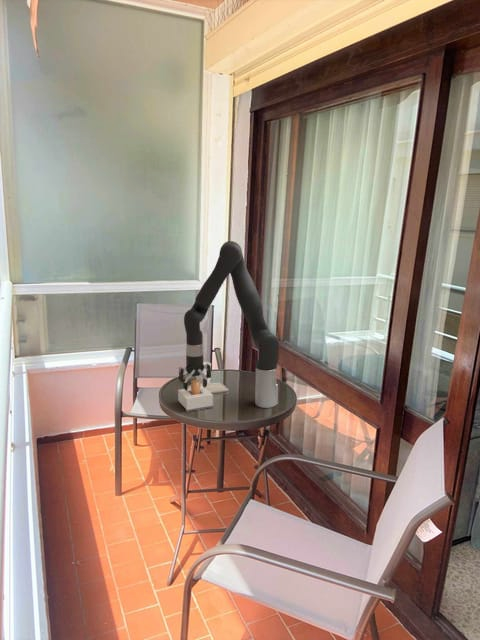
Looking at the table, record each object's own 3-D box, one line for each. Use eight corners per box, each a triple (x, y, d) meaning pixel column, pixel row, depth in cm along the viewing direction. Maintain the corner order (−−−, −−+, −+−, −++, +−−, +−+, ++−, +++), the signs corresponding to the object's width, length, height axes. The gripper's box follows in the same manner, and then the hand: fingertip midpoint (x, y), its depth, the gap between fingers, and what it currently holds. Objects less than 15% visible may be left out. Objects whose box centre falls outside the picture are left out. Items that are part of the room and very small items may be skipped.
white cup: (193, 381, 246) (193, 362, 243) (208, 379, 248) (208, 361, 246) (198, 386, 238) (197, 367, 236) (213, 384, 241) (213, 365, 239)
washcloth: (230, 394, 230) (230, 388, 229) (193, 399, 223) (193, 393, 222) (221, 386, 241) (221, 380, 240) (186, 391, 234) (186, 385, 233)
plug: (198, 400, 218) (198, 379, 216) (201, 403, 215) (201, 382, 212) (190, 401, 216) (189, 380, 214) (193, 405, 213) (192, 383, 211)
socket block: (203, 398, 224) (203, 385, 222) (212, 407, 213) (212, 394, 212) (178, 402, 219) (178, 389, 217) (187, 412, 208) (186, 399, 207)
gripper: (206, 349, 217) (207, 383, 220) (176, 353, 211) (177, 388, 214) (213, 353, 210) (213, 389, 214) (181, 357, 204) (182, 393, 208)
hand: (195, 388), depth 214 cm, fingers open, 8 cm apart
